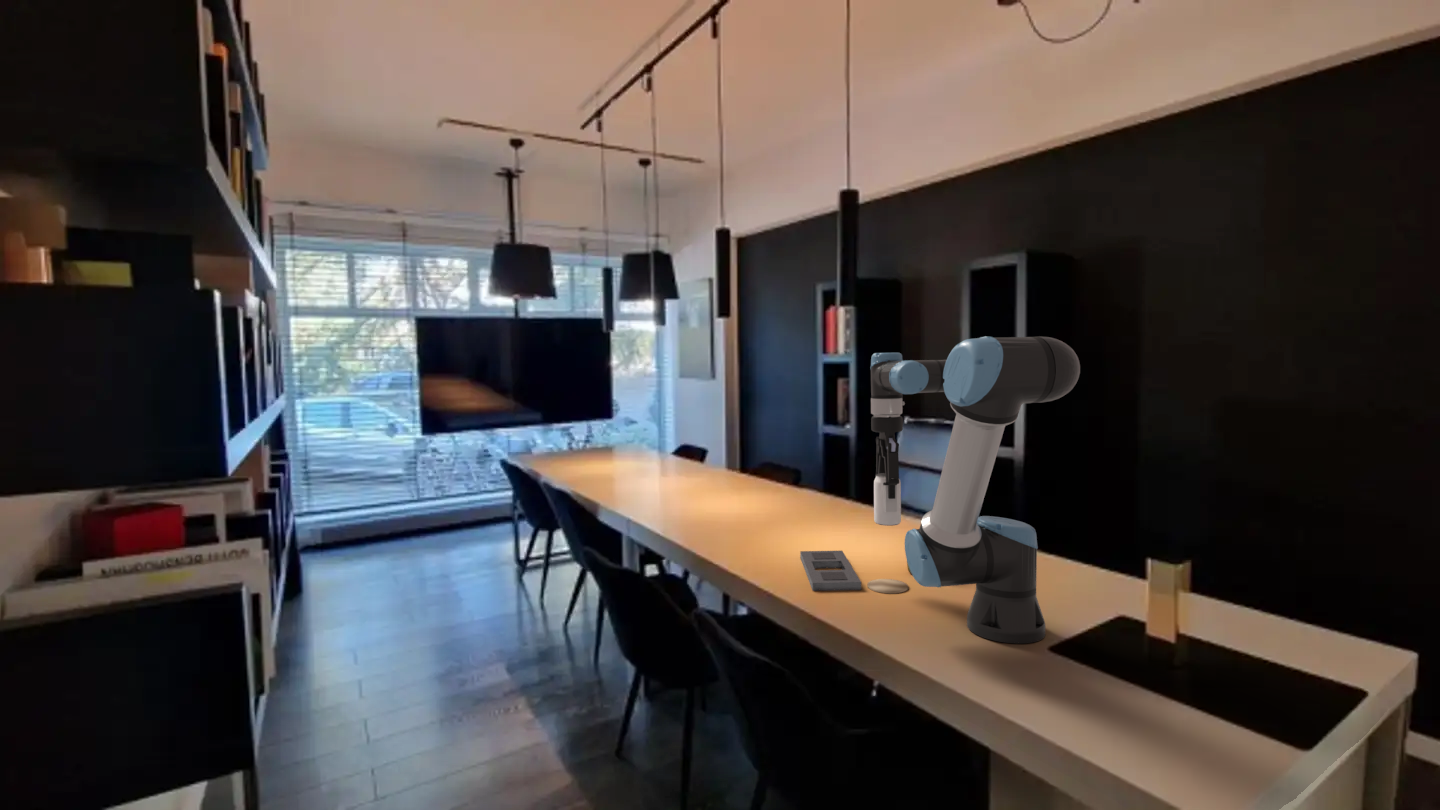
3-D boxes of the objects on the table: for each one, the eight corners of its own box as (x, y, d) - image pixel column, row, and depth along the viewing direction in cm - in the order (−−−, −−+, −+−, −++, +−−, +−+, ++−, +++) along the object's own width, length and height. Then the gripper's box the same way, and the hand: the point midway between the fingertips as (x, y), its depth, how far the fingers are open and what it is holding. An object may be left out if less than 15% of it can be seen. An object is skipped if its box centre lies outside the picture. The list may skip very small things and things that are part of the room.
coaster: (913, 593, 167) (913, 591, 167) (871, 594, 168) (871, 592, 167) (902, 580, 177) (902, 578, 177) (863, 580, 177) (863, 579, 177)
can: (871, 524, 170) (870, 476, 169) (878, 518, 176) (877, 472, 175) (897, 527, 167) (897, 477, 166) (903, 521, 173) (903, 473, 172)
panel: (861, 590, 171) (861, 581, 170) (812, 590, 171) (812, 582, 171) (842, 557, 198) (842, 550, 198) (800, 558, 199) (800, 550, 198)
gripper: (912, 418, 160) (913, 516, 161) (892, 412, 179) (893, 499, 181) (880, 419, 160) (880, 517, 161) (863, 412, 179) (864, 500, 181)
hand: (887, 507), depth 171 cm, fingers closed on can, 6 cm apart
